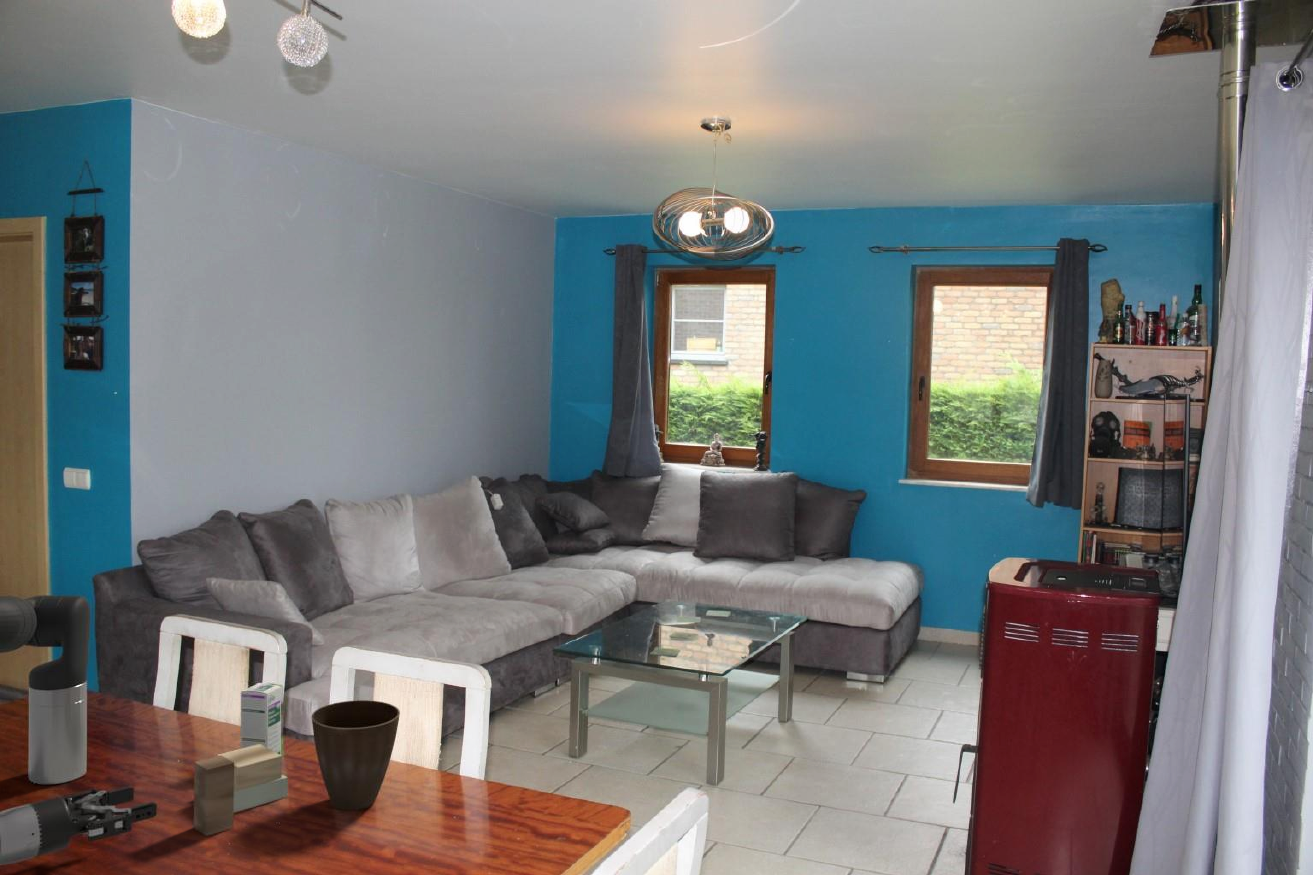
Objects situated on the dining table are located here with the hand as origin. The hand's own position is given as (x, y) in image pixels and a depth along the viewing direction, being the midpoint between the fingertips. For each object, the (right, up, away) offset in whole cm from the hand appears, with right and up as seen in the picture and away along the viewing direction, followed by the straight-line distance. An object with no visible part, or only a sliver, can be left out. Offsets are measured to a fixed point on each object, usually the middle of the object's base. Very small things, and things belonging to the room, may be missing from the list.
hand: (143, 800), depth 162 cm
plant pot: (+27, -8, +21) cm, 35 cm away
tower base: (+7, -7, +22) cm, 24 cm away
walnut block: (+7, -8, +9) cm, 14 cm away
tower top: (+8, -3, +21) cm, 23 cm away
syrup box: (+4, -6, +39) cm, 39 cm away
